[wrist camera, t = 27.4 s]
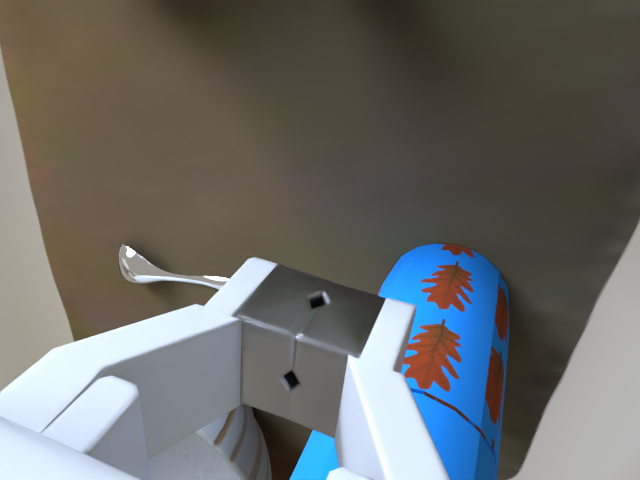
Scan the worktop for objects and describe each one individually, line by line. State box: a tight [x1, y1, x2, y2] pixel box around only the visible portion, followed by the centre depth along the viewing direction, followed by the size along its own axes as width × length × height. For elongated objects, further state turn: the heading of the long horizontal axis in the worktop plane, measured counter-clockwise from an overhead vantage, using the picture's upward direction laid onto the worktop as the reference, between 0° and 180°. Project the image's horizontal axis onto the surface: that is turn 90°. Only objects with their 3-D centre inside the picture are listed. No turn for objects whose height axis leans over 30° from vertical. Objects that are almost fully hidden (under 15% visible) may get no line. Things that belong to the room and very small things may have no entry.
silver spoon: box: [118, 243, 229, 291], centre depth 53 cm, size 20×4×5 cm
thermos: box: [290, 243, 509, 480], centre depth 35 cm, size 11×11×25 cm
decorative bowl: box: [148, 403, 272, 480], centre depth 60 cm, size 27×27×12 cm
